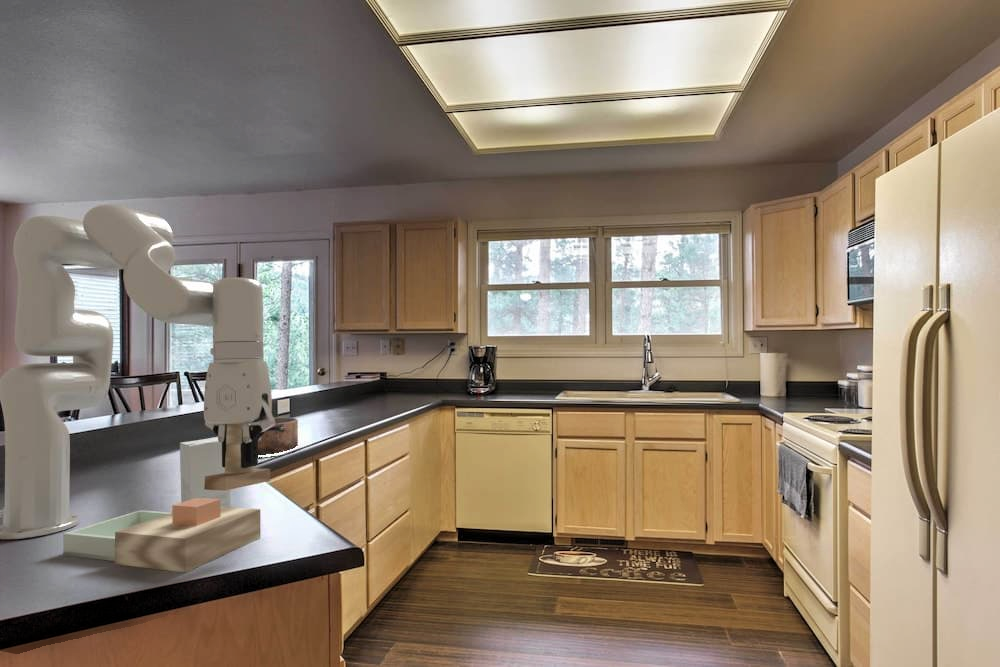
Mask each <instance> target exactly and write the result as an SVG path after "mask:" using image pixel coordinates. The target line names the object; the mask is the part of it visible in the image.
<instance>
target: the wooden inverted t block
mask: <svg viewBox="0 0 1000 667" xmlns="http://www.w3.org/2000/svg"><path fill="white" fill-rule="evenodd" d="M252 429H253V428H252V426H251V431H252ZM241 443H245V442H244V439H243V428H242V424H227V435H226V456H225V473H221V474H216V475H210V476H205V485H204V490H225V491H226V490H230V491H231V490H234V489H238V488H244V487H249V486H253V485H257V484H262V483H263V484H264V483H267V482H271V468H255V467H254V466H251V467H248V468H242V467H241Z"/></svg>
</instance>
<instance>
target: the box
mask: <svg viewBox="0 0 1000 667" xmlns="http://www.w3.org/2000/svg"><path fill="white" fill-rule="evenodd" d="M171 513H172V512H170V511H169V512H167V511H157V510H156V511H155V510H142V509H140V510H139V509H138V510H137V511H133V512H132V511H131V512H130V513H127V514H123V515H119V516H117V517H113V518H110V519H107V520H104V521H100V522H97V523H93V524H90V525H87V526H84V527H80V528H78V529H74V530H70V531H68V532H65V533H63V537H62V540H63V543H62V544H63V546H62V554H63V556H68V557H76V558H77V557H79V558H85V559H94V560H102V561H103V560H104V561H111V562H115V532H116V531H119V530H122V529H125V528H128V527H131V526H134V525H137V524H140V523H143V522H146V521H149V520H152V519H155V518H159V517H162V516H165V515H168V514H171Z"/></svg>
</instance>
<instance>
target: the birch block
mask: <svg viewBox="0 0 1000 667" xmlns="http://www.w3.org/2000/svg"><path fill="white" fill-rule="evenodd" d="M170 513H171V514H168V515H165V516H162V517H159V518H155V519H152V520H149V521H146V522H143V523H140V524H137V525H134V526H131V527H128V528H125V529H122V530H119V531H116V532H115V561H114V564H115V565H121V566H129V567H136V568H145V569H153V570H162V571H171V572H178V573H179V572H180V573H188V572H190V571H191V570H194V569H196V568H198V567H200V566H202V565H205V564H207V563H209V562H211V561H214V560H215V559H218V558H220V557H223V556H224V555H226V554H229V553H231V552H233V551H235V550H237V549H239V548H241V547H244V546H246V545H248V544H250V543H253V542H254V541H256V540H259V539H260V538H261V509H260V508H248V507H247V508H245V507H233V506H231V507H222V506H221V517H219V518H217V519H214V520H211V521H209V522H206V523H203V524H201V525H198V526H192V525H180V524H172V512H170Z"/></svg>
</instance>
